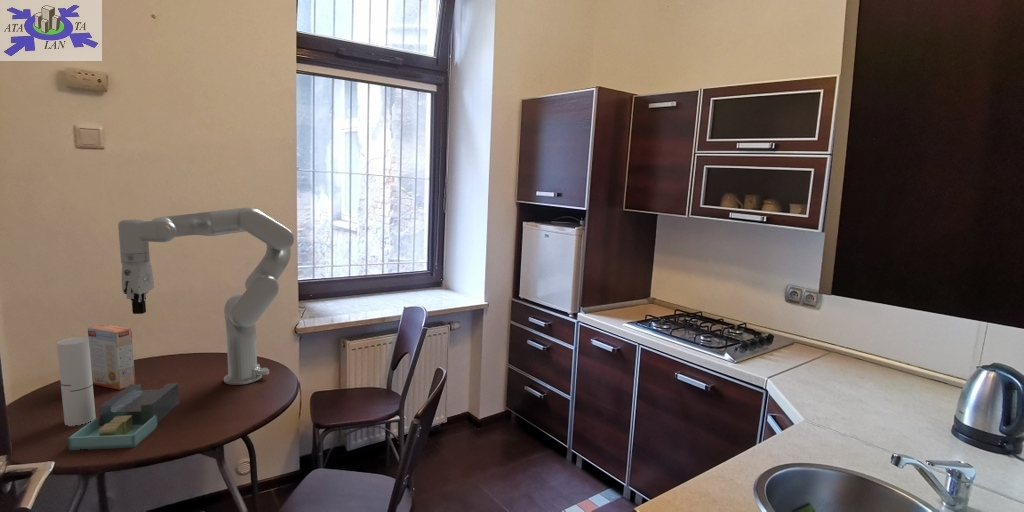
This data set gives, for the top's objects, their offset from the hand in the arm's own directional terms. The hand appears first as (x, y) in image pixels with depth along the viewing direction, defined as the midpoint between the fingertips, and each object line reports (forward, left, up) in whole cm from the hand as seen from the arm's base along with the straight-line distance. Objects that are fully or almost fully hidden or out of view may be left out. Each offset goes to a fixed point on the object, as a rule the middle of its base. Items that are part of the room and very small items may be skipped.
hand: (139, 313), depth 166 cm
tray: (-6, +28, -29) cm, 41 cm away
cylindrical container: (+10, +16, -29) cm, 35 cm away
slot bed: (-6, +14, -29) cm, 33 cm away
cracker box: (+16, -12, -29) cm, 35 cm away
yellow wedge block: (-7, +28, -26) cm, 39 cm away
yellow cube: (-6, +31, -24) cm, 40 cm away
